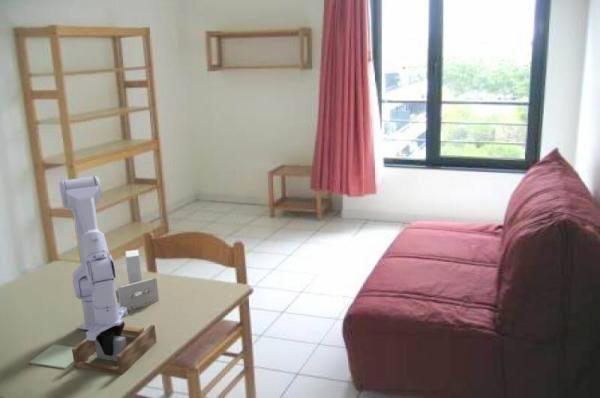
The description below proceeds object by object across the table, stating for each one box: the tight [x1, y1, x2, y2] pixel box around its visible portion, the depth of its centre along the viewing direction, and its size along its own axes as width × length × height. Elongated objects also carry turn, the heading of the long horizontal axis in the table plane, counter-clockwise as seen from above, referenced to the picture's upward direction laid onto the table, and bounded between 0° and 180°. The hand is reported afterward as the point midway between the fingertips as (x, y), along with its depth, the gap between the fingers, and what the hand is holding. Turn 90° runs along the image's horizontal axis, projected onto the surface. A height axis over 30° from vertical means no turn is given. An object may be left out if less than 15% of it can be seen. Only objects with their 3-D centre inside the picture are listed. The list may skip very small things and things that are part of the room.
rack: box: [72, 324, 157, 375], centre depth 152 cm, size 16×14×5 cm
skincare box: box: [124, 249, 143, 285], centre depth 192 cm, size 6×4×12 cm
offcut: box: [121, 324, 145, 346], centre depth 158 cm, size 2×9×4 cm, turn 73°
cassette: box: [117, 277, 160, 311], centre depth 179 cm, size 12×2×8 cm, turn 124°
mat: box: [29, 344, 75, 370], centre depth 152 cm, size 9×11×1 cm
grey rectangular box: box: [94, 336, 128, 362], centre depth 150 cm, size 2×8×6 cm, turn 73°
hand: (111, 352), depth 150 cm, fingers closed on grey rectangular box, 2 cm apart
